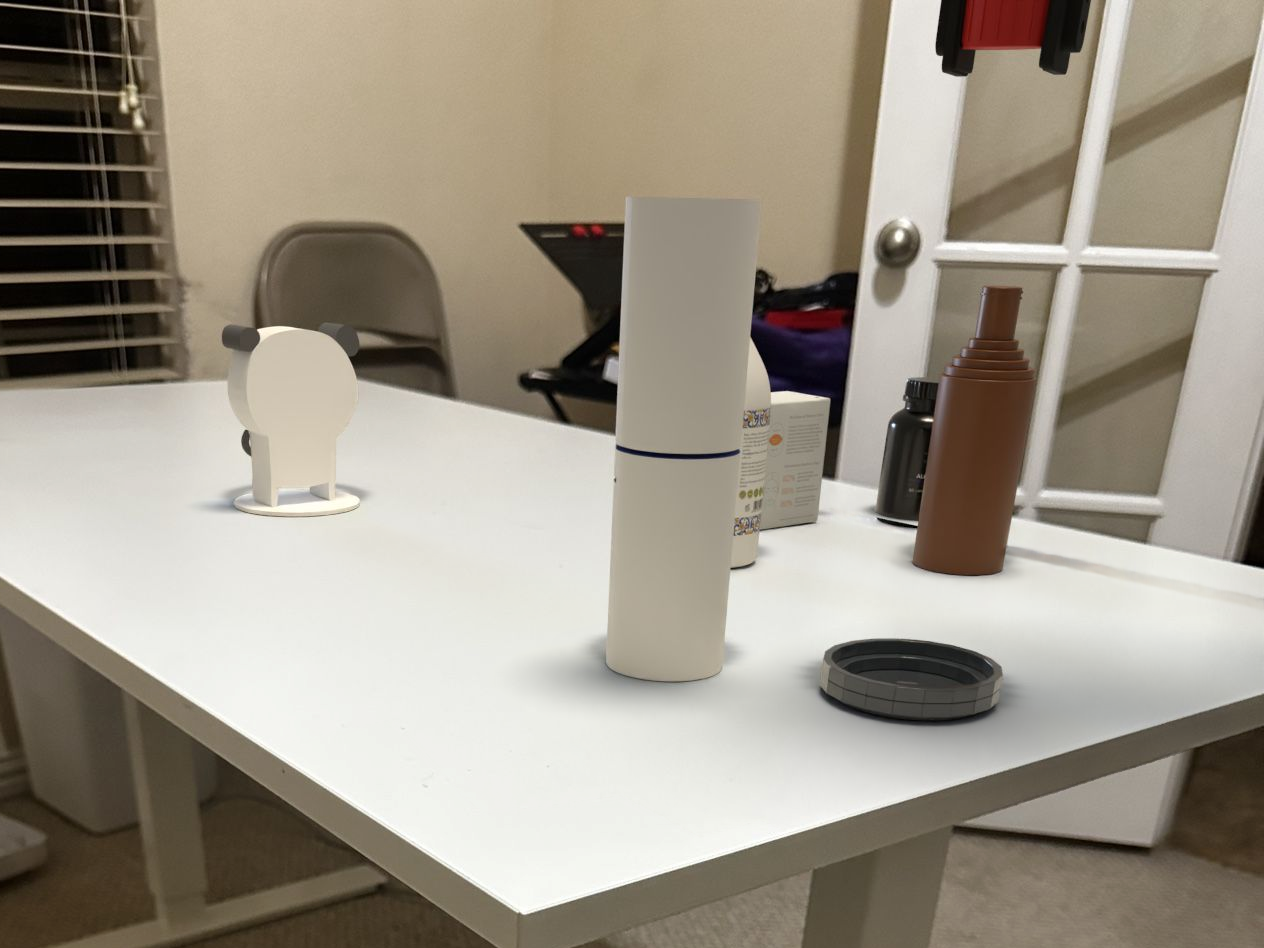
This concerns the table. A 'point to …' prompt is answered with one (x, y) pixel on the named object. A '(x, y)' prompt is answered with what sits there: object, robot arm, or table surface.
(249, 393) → the panda figurine
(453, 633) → the table surface
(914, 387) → the supplement bottle
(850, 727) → the table surface
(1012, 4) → the cap
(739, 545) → the bath foam
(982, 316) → the bottle
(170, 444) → the table surface
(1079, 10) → the robot arm
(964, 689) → the saucer
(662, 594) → the cylindrical container
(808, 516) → the small box
